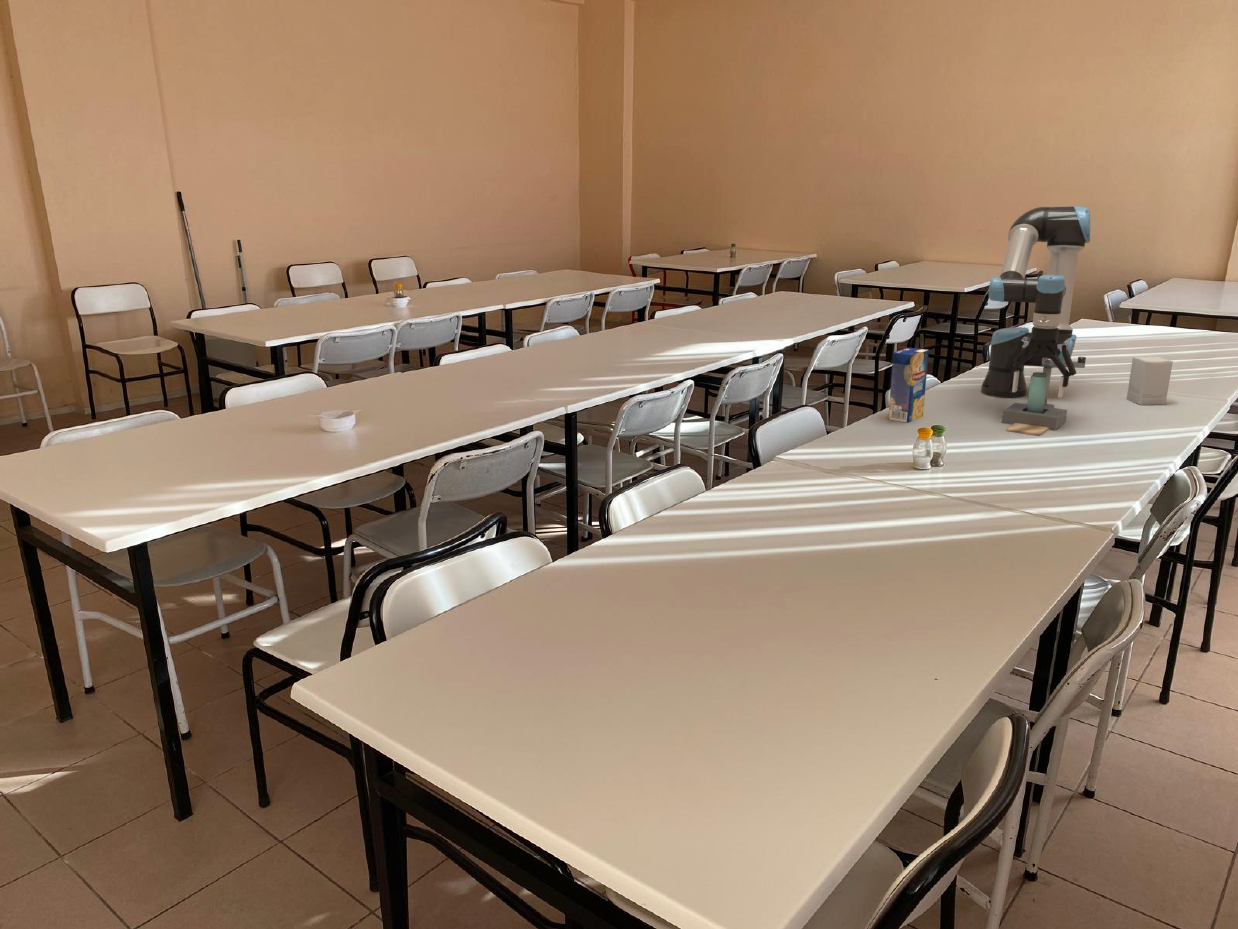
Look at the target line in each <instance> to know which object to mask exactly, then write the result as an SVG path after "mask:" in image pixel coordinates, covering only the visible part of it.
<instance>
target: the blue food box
mask: <svg viewBox="0 0 1238 929" xmlns="http://www.w3.org/2000/svg"><path fill="white" fill-rule="evenodd" d="M928 361H929V349H923V348H916V347H915V348H913V347H907V348H904V349H901V350H897V351H893V352H892V364H891V376H890V378H891V379H890V393H889V403H888V404H889V405H888V417H887V418H888V420H889V421H895V422H902V423H910V422H913V421H915V420H918V419H920V418H922V417H923V416H924V410H925V408H924V407H925V398H926V396H925V395H926V384H927V372H928Z"/></svg>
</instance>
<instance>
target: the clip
mask: <svg viewBox="0 0 1238 929" xmlns="http://www.w3.org/2000/svg"><path fill="white" fill-rule="evenodd" d="M1086 360H1087V357H1086V356H1078V357H1077V361H1073V360H1072V362H1073V365H1074V367H1075V369H1085V368H1086V362H1087V361H1086ZM1061 362H1062V363H1063V365H1064V366H1065V367H1066V368H1068V367H1067V365H1066V362H1065V361H1061ZM1042 366H1043V367H1057V366H1056V365H1055V363H1054V362H1053V361H1052V360H1051V359H1050V358H1042ZM1043 367H1042V368H1043Z"/></svg>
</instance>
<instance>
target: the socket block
mask: <svg viewBox="0 0 1238 929" xmlns="http://www.w3.org/2000/svg"><path fill="white" fill-rule="evenodd" d="M1052 369H1053V368H1051V367H1042V373H1046V374H1047V376H1048V379H1047V387H1046V395H1045V403H1044V411H1043V414H1042V413H1034V412H1027V404H1028V403H1027V404H1025V403H1019V402H1013V403H1012V404H1011V405H1009V406H1008V407H1006V408H1005V409H1003V410H1002V417H1001V423H1002V424H1008V425H1012V424H1014V423H1021V424H1028V425H1035V426H1042V427H1049V429H1050V431H1051V430H1052V431H1056V430H1058V429H1059V428H1060V427H1061V426H1062V425H1064V424H1065V423H1066V422H1067V415H1068V409H1064V408H1056V407H1055V404H1053V403H1051V404H1050V403H1048V400H1049V392H1050V391H1049V390H1050V384H1051V376H1052ZM1049 429H1048V430H1049Z"/></svg>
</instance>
